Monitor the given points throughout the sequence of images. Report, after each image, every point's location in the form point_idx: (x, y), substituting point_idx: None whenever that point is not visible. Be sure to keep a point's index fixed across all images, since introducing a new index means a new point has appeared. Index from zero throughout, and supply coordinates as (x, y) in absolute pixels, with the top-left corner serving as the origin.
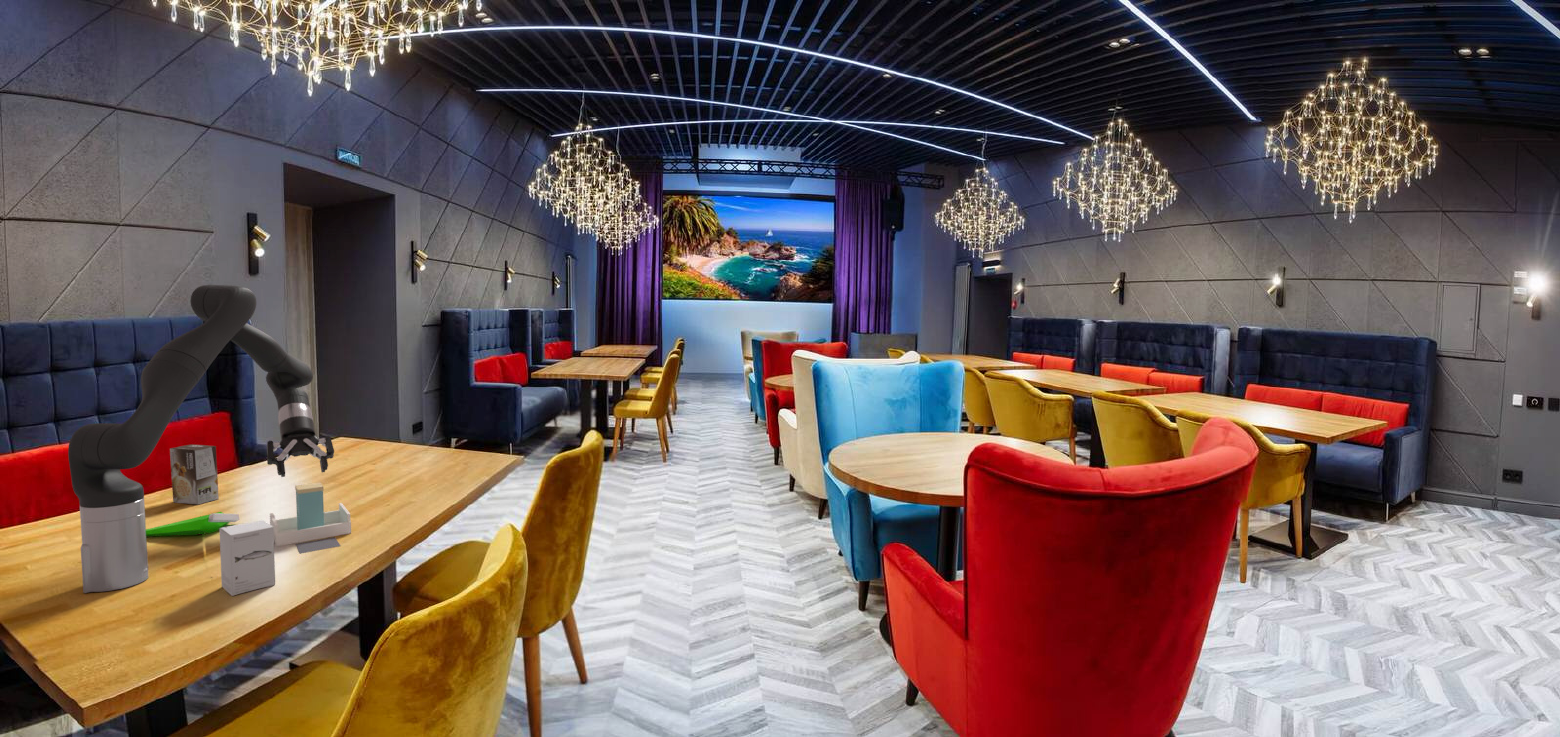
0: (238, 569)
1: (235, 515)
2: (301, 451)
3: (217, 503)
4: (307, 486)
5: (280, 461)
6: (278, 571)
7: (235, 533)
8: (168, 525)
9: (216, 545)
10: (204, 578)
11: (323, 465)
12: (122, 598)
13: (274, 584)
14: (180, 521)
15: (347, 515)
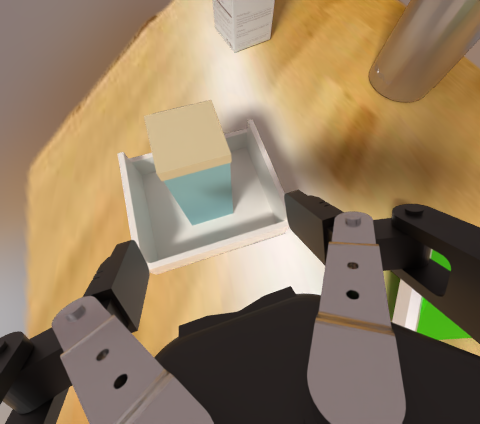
0: None
1: (402, 324)
2: (238, 317)
3: None
4: (190, 131)
5: (337, 216)
6: (221, 62)
7: None
8: None
9: (354, 194)
10: (301, 67)
11: (121, 248)
12: (359, 41)
13: (215, 27)
14: None
15: (124, 153)
